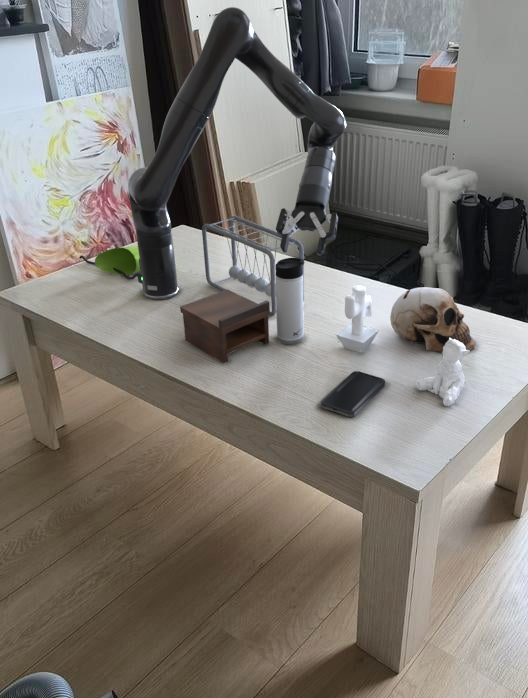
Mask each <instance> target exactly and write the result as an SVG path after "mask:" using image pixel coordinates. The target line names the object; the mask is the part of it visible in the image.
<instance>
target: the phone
mask: <svg viewBox="0 0 528 698" xmlns="http://www.w3.org/2000/svg"><path fill="white" fill-rule="evenodd" d="M385 387H386V379H385V378H384V377H379V376H376V375H373V374H369V373H367V372H363V371H359V370H354V371H352V372H351V373H350V374H348V375H347V376H346V377H345V378H344V379H343V380H342V381H341V382H339V384H338V385H336V386H335V387H334V388H333V389H332V390H331V391H330V392H328V393H327V394H326V396H324V397H323V398H322V399H321V401H320V407H321V408H322V409H324V410H327V411H330V412H333V413H336V414H339V415H341V416H345V417H347V418H353V417H356V416H357V415H358V414H359V413H360V411H362V410H363V409H364V408H365V407H366V406H367V404H369V403H370V402H371V401H372V400H373V399H374V398H375V397H376V396H377V395H378V393H380V392H381V391H382V390H383V389H385Z"/></svg>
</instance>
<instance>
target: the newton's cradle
mask: <svg viewBox="0 0 528 698" xmlns="http://www.w3.org/2000/svg"><path fill="white" fill-rule="evenodd" d="M225 222H226V223H227V222H229V227H225V228H224V227H222V226H220V224H222V223H225ZM235 223H236V224H237V225H235ZM218 224H219V225H218ZM237 226H242V227H246V228H243V229H241V227H239V229H238V230H237V231H235V229H236V228H235V227H237ZM207 229H208V230H210V231H213V232H215V233H217V234H219V235H221V236H224V237H226V239H227V243H228V247H229V251H230V256H231V260H232V266H230V268H229V269H228V275H229V276H228V277H226V278H223V279H221V280H217V281H215V282H214V281H213V280H212V279H211V271H210V261H209V251H208V250H209V249H208V238H207V235H208V234H207ZM247 229H248V232H247V234H245V235H241V234H240V233H241V231H245V230H247ZM250 229H251V230H253V231H255V232H251V233H250ZM255 233H257V236H256V238H254V239H250V238H249V237H247V236H249V235H252V234H255ZM259 233H261V234H263V235H264V236H259ZM201 237H202V249H203V260H204V270H205V279H206V281H207V284H208V285H209V286H211V287H212V288H214V289H217V290H218V291H219V292H221V291H223V290H226V289H227V288H225V287H224V286H222V285H219V284H218V283H222V282H224V281H227V280H230V279H233V280H238V282H239V283H241V284H246V285H247V286H248V287H249V288H252V289H254V288H255V290H256V291H257V292H259V293H264V294H265V295H266V296H267V297H269V298H270V301H271V303H270V305H271V306H270V307H271V310H270V316H269V317H274V316H275V315H276V314H277V311H276V276H275V274H276V270H275V265H276V259H275V257H276V256H277V255H276V254H277V250H279V249H280V250H281V247H280V246H278V245H277V244H278V241H280V242H281V239H282V236H281V235H278V233H277V231H276V230H275V229H274V230H273V229H271V228H268V227H265V226H264V225H261V224H258V223H255V222H253V221H250V220H248V219H246V218H243V217H241V216H238V215H232V216H231V217H230V218H227V219H224V220H221V221H217V222H214V223H204V224H203V225H202V226H201ZM264 237H266V238H268V237H271V238H273V240H270V241H268V239H266V241H265V242H263V243H260V242H258V241H257V240H259V239H261V238H264ZM229 239H230V241H229ZM289 239H290V240H289V244H288V247H289V246H291V245H296V246H297V247H298V258H300V259H304V260H305V253H304V251H305V249H304V245H303V243H302V242H301V241H300V240H298V239H296V238H294V237H291V236H290V237H289ZM274 241H275V247H274V248H272V247H270V246H268V245H267V243H270V242H274ZM230 243H231V246H230ZM240 244H243V245H244V248H245V256H246V258H245V261H244V266H246V263H248V266H249V270H247V269H246V268H243V263H242V259H241V256H240V251H239V245H240ZM277 246H278V247H277ZM247 247H250V248H252V249H253V252H254V259H255V261H254V263H253V268H256V267H255V266H257V271H258V274H256V273H255V270H253V272H252V269H251V266H250V265H251V264H250V260H249V256H248V248H247ZM257 251H259V252H261V253H263V258H264V260H263V264H265V266H263V267H262V268H263V269H262V273H264V270H265V267H266V272H267V275H268V280H269V281H268V280H267V278H265V277H264V274H262V275H261V273H260V268H259V263H258V260H257ZM273 251H274V254H273ZM266 255H267V256H268V259H269V269H268V266H267V259H266ZM237 256H238V257H239V262H240V266H239V265H238V258H237ZM302 267H303V270H302V271H303V303H304V302H305V264H304V265H302ZM269 272H270V273H269Z"/></svg>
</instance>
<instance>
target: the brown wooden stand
mask: <svg viewBox="0 0 528 698" xmlns="http://www.w3.org/2000/svg"><path fill="white" fill-rule="evenodd" d="M225 289H226V290H223V291H219V292H215V293H212V294H210V295H208V296H205V297H203V298H200V299H197V300H193V301H192V302H189V303H186V304H183V305H181V306H179V309H180V311H179V312H180V313H181V314H182V321H183V329H184V330H183V331H184V338H185V342H187V343H189V344H190V345H192V346H193V347H195V348H197V349H199V351H202V352H204V353H205V354H207V355H209V356H210V357H212V358H214V359H216V360H217V361H219V362H221V363H222V364H226V363H228V362H229V360H228V358H229V357H228V354H231V353H233V352H235V351H238V350H240V349H242V348H244V347H246V346H249V345H251V344H253V343H256V342H258V343H261V344H262V345H264V346H266V345H269V344H270V329H269V317H271V316H270V312H271V306H270V305H271V303H270V301H269V300H263V301H262V302H259V303H257V302H256V301H253V300H251V299H249V298H247V297H245V296H243V295H240V294H238V293H236V292H234V291H232V290H230V289H228V288H225Z"/></svg>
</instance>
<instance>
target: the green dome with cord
mask: <svg viewBox="0 0 528 698" xmlns="http://www.w3.org/2000/svg"><path fill="white" fill-rule="evenodd" d="M94 262H95V265H94V266H96V268H97V269H98V270H100V271H102V272H105V273H109V274H113V275H122V274H120V273H119V272H116V271H115V270H114V269H113V268H116V269H118V270H120V271H122V272H123V273H124V274H126V275H127V276H129V275H132V274H137V272H139V271H140V265H139V250H138V245H131V246H121V247H113V248H110V249H107V250H105V251H103V252H100V253H98V254H97V255H96V257H95V258H94ZM122 276H123V275H122Z"/></svg>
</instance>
